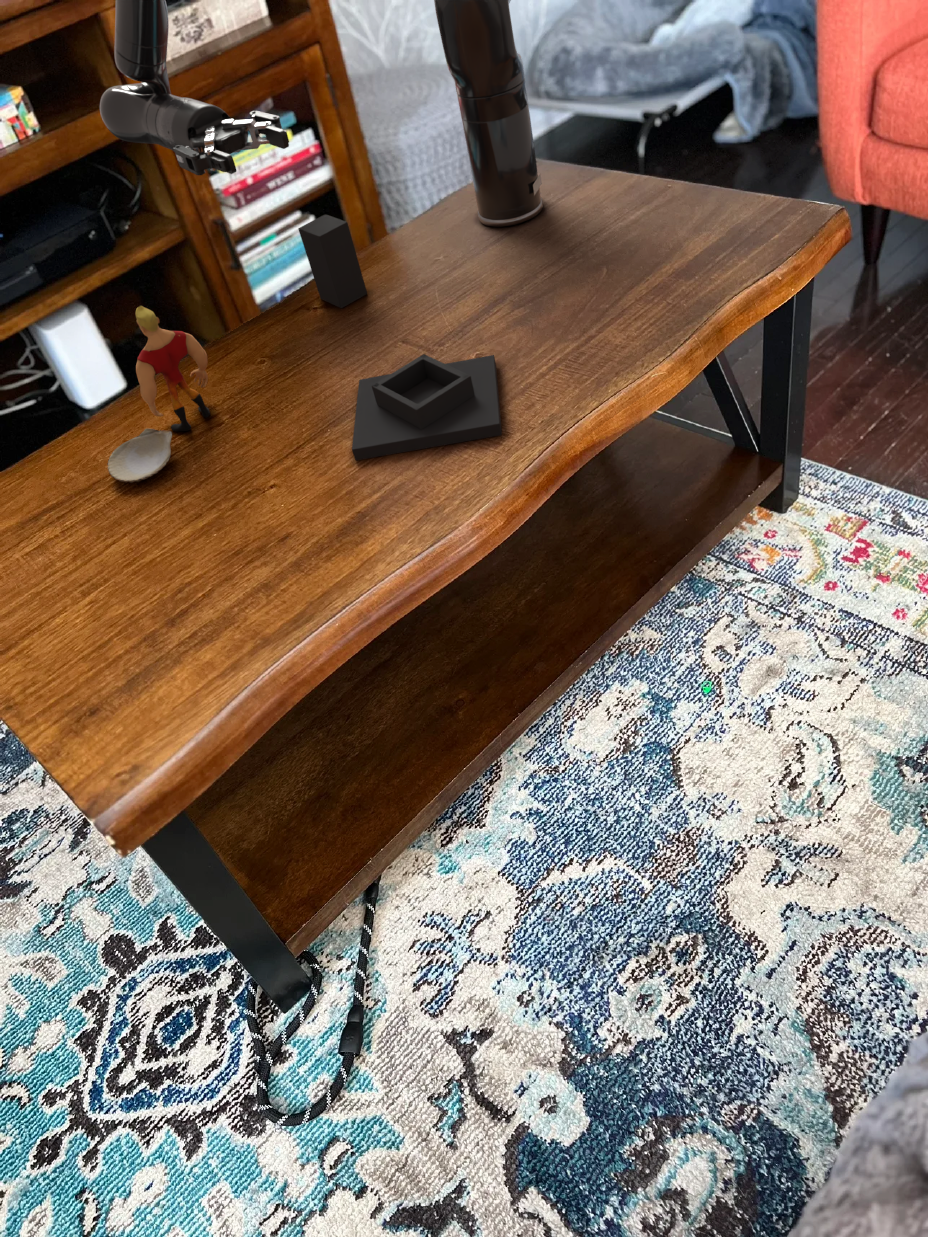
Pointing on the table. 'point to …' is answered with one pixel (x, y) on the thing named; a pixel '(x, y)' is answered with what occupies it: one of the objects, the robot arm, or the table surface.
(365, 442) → the socket pad
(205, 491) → the table surface
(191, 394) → the action figure
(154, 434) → the scallop shell
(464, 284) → the table surface
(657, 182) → the table surface
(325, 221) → the black rectangular block
